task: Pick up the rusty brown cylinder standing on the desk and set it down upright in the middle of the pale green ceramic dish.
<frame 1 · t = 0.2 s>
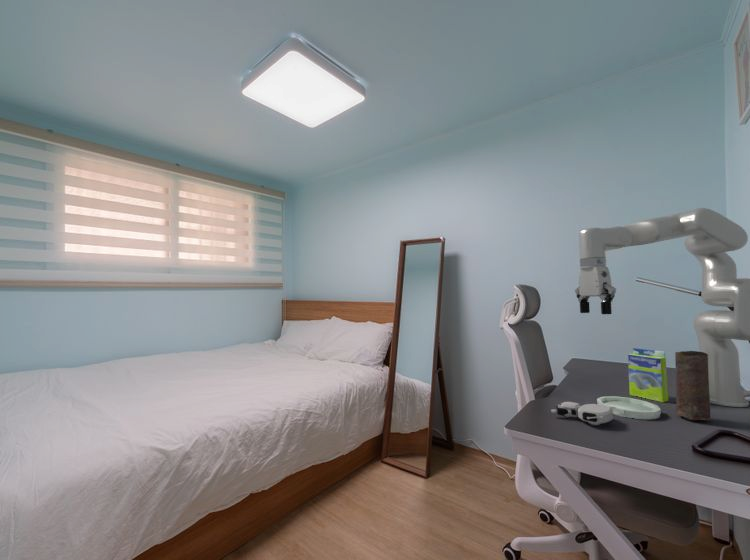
hand: (595, 313, 114), 31 cm above the table, tool pointing down, fingers open, 9 cm apart
rusty brown cylinder: (694, 420, 99), on the table
robot toy: (583, 420, 100), on the table
dish: (627, 410, 107), on the table
box: (648, 398, 120), on the table
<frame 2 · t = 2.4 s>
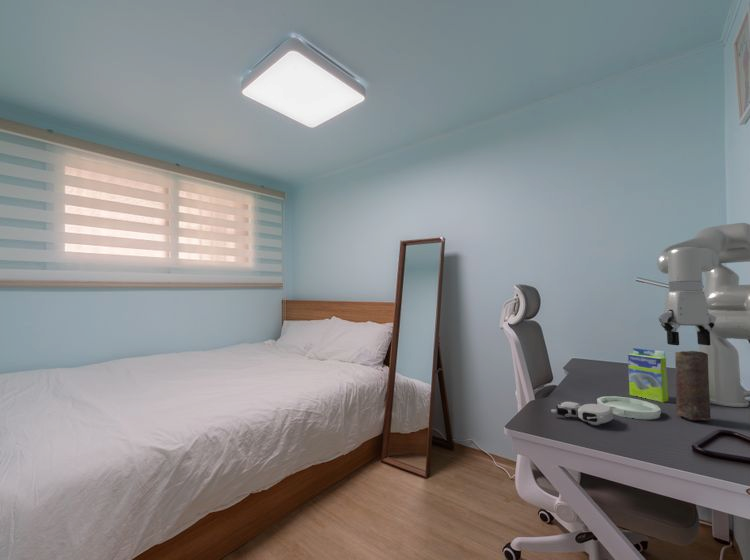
hand: (688, 344, 100), 22 cm above the table, tool pointing down, fingers open, 9 cm apart
nothing on the table moved.
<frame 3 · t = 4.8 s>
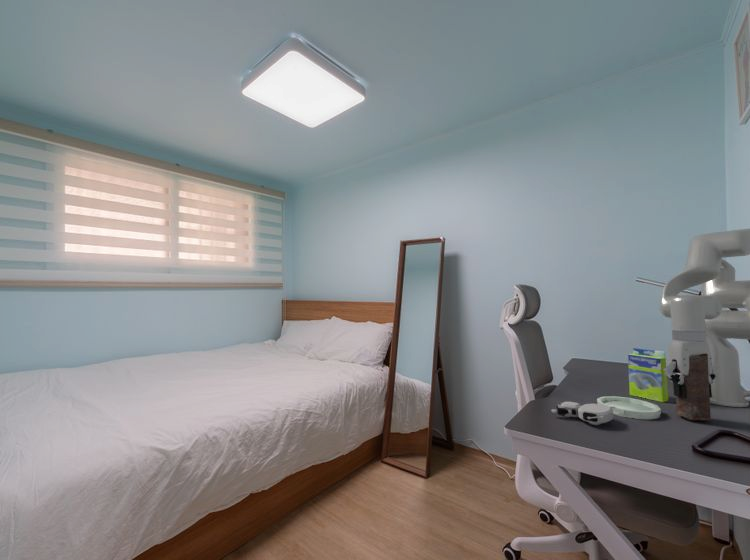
hand: (692, 396, 99), 7 cm above the table, tool pointing down, fingers closed on rusty brown cylinder, 7 cm apart
rusty brown cylinder: (694, 420, 99), on the table, touching gripper
everything else where it was.
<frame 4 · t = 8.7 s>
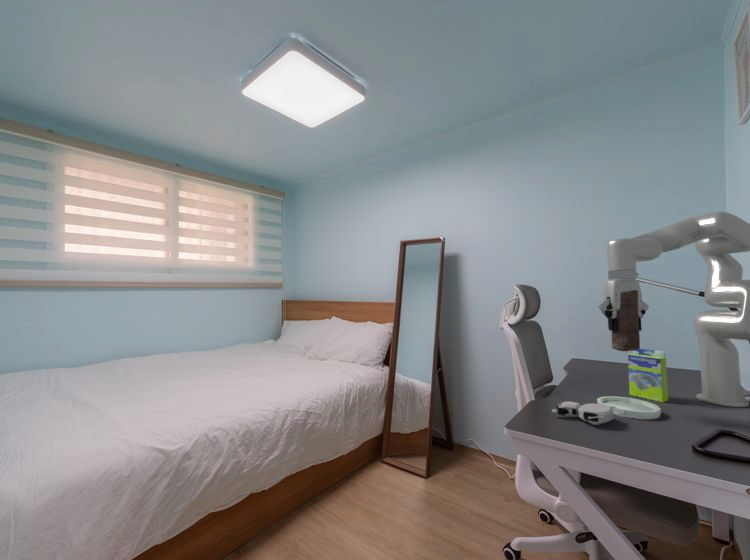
hand: (624, 330, 108), 26 cm above the table, tool pointing down, fingers closed on rusty brown cylinder, 7 cm apart
rusty brown cylinder: (626, 351, 108), point 19 cm above the table, touching gripper
everything else where it was.
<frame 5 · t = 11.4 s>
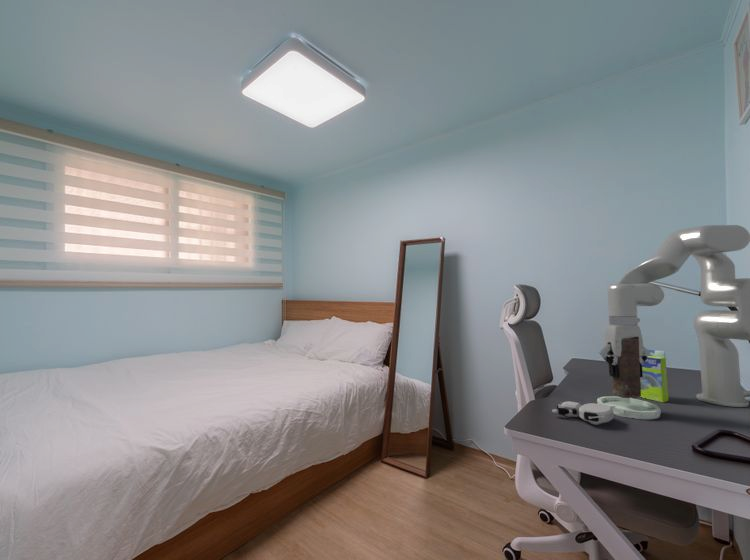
hand: (625, 376, 108), 11 cm above the table, tool pointing down, fingers closed on rusty brown cylinder, 7 cm apart
rusty brown cylinder: (627, 398, 107), point 4 cm above the table, touching gripper
everything else where it was.
when the fingers open (10 cm above the table, at t = 12.8 s): rusty brown cylinder drops 2 cm, resting on dish.
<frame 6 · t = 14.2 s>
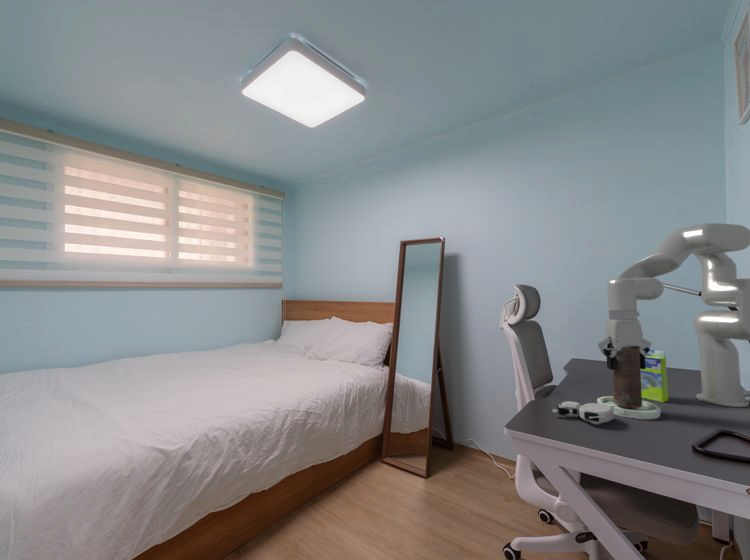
hand: (626, 368, 108), 13 cm above the table, tool pointing down, fingers open, 9 cm apart
rusty brown cylinder: (628, 408, 107), point 1 cm above the table, touching dish
everything else where it was.
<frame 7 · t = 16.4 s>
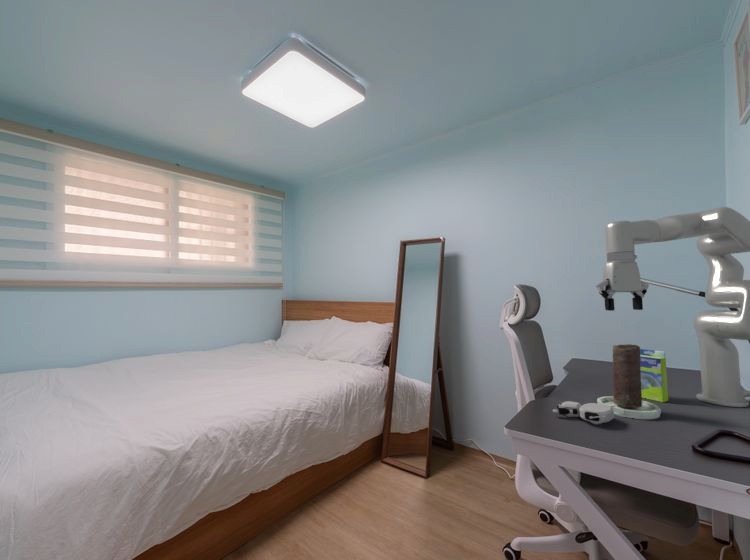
hand: (623, 310, 110), 32 cm above the table, tool pointing down, fingers open, 9 cm apart
nothing on the table moved.
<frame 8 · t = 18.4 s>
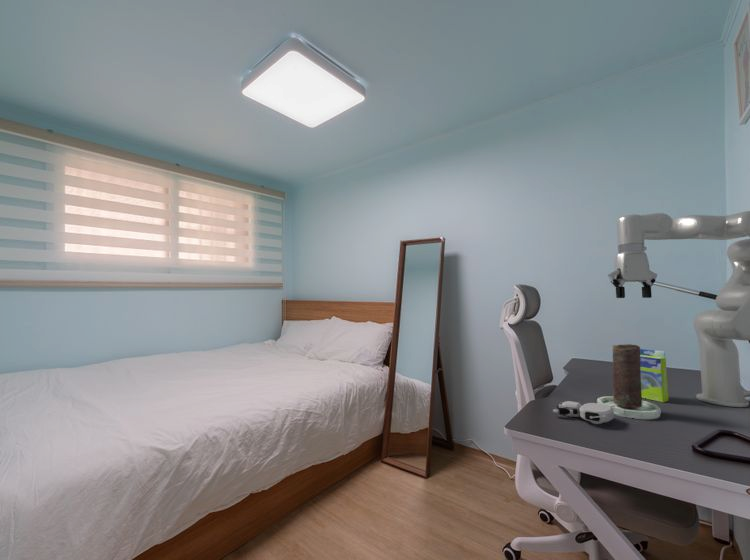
hand: (633, 297, 118), 36 cm above the table, tool pointing down, fingers open, 9 cm apart
nothing on the table moved.
at the end: rusty brown cylinder inside the target area on the dish (0.1 cm from its centre), point 0.8 cm above the dish's base; rusty brown cylinder tilted 0°; the gripper is holding nothing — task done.
